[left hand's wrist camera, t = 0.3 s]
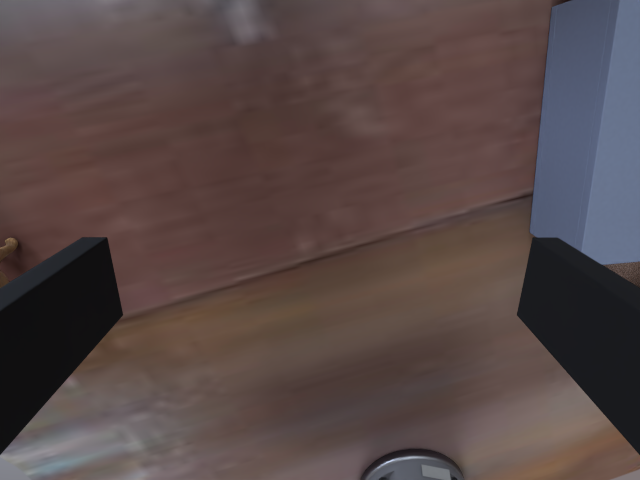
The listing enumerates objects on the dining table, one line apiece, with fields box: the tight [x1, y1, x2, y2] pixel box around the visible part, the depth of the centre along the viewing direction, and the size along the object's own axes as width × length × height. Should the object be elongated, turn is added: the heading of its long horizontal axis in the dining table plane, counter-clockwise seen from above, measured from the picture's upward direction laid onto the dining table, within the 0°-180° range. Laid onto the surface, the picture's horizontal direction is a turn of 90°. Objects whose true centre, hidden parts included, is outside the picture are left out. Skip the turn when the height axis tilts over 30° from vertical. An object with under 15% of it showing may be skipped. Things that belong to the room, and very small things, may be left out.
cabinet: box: [530, 0, 640, 265], centre depth 35 cm, size 22×11×9 cm, turn 6°
